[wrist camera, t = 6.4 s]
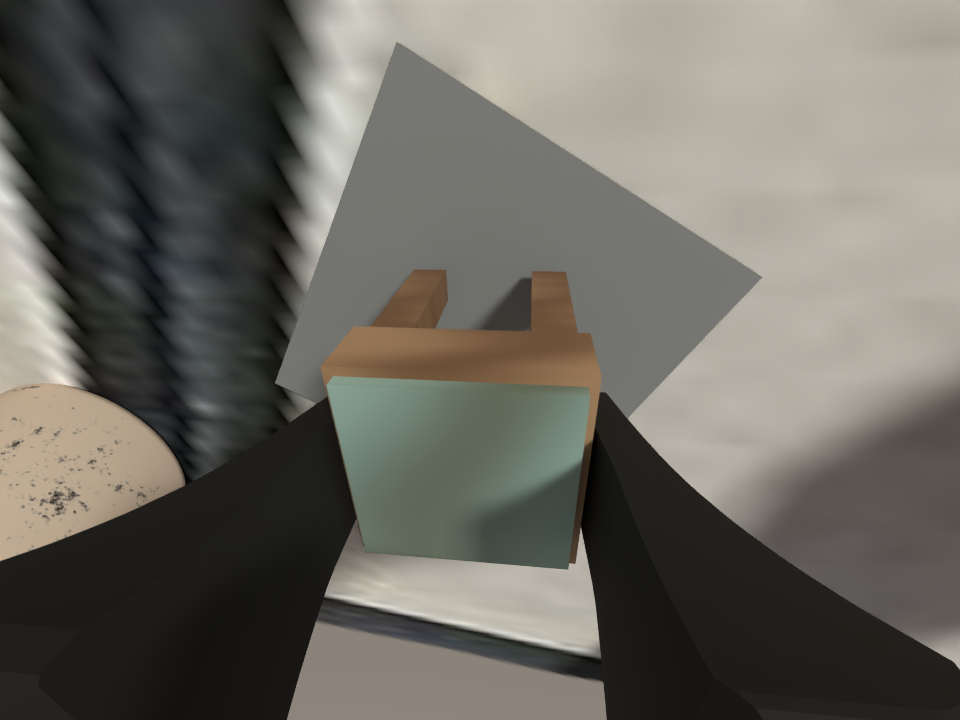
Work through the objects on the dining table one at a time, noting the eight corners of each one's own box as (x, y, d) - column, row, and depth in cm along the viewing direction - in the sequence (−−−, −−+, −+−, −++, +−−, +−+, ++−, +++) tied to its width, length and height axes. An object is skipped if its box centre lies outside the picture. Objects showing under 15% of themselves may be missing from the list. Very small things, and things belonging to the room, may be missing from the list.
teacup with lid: (17, 489, 22) (-410, 808, 12) (-28, 344, 18) (-775, 659, 7) (249, 558, 23) (37, 901, 13) (263, 438, 19) (-44, 822, 9)
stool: (573, 264, 13) (603, 387, 7) (560, 404, 15) (576, 575, 10) (407, 262, 13) (312, 375, 8) (421, 397, 16) (358, 556, 10)
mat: (755, 272, 13) (762, 277, 13) (540, 501, 19) (541, 508, 19) (400, 43, 11) (396, 41, 11) (280, 377, 17) (275, 382, 17)
